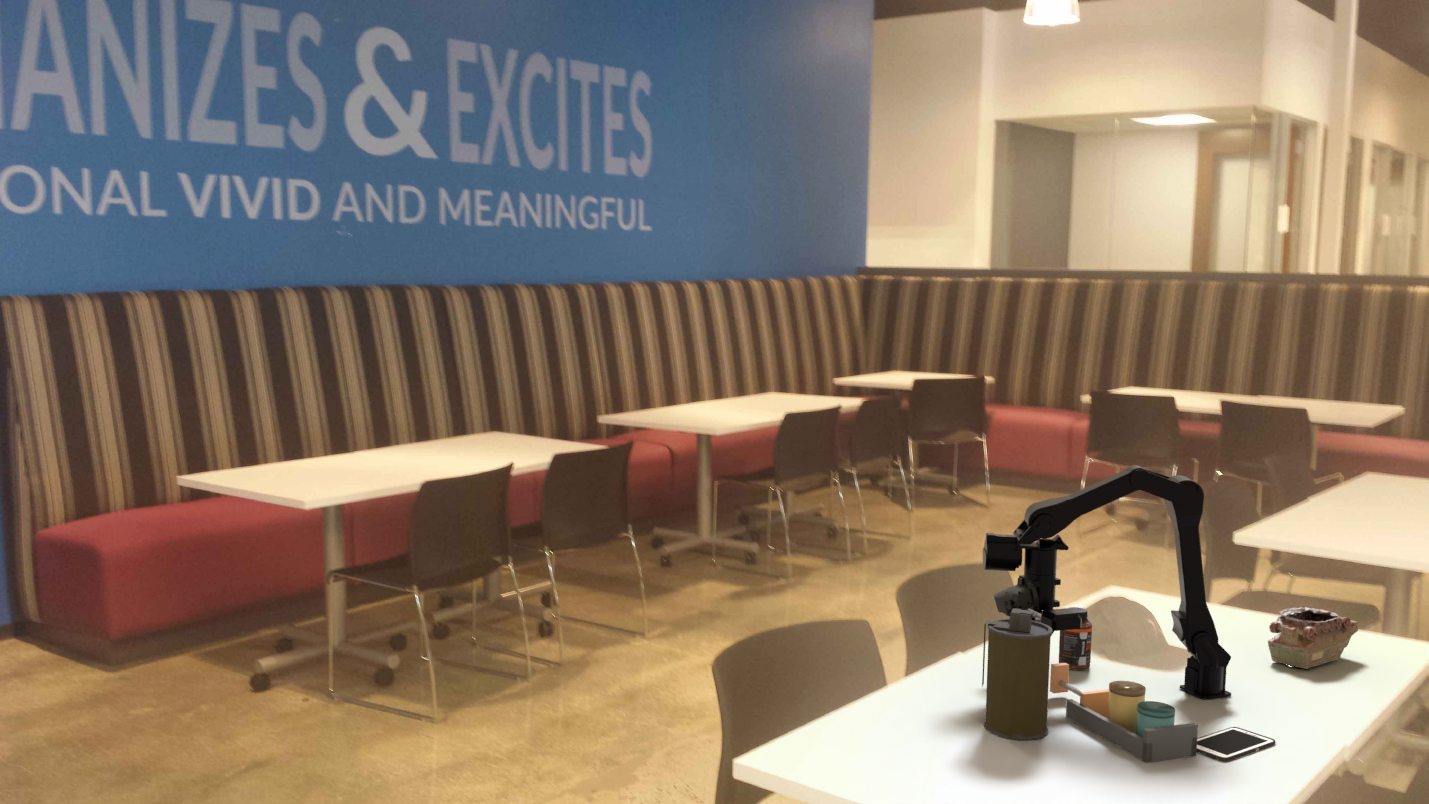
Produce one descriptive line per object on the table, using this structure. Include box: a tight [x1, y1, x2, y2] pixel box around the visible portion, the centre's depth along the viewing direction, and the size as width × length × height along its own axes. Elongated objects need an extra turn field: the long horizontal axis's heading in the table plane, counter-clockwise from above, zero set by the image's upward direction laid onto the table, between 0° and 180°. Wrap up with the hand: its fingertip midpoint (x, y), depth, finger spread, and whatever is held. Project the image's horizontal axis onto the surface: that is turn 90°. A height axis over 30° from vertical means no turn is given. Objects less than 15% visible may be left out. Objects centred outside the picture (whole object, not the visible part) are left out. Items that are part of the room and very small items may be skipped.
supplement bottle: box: [1058, 606, 1093, 671], centre depth 236 cm, size 6×6×11 cm
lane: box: [1065, 698, 1199, 763], centre depth 200 cm, size 10×21×5 cm, turn 19°
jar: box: [1136, 700, 1176, 738], centre depth 194 cm, size 6×6×7 cm
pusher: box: [1049, 662, 1109, 718], centre depth 213 cm, size 7×13×6 cm, turn 19°
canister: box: [981, 608, 1054, 741], centre depth 202 cm, size 11×10×20 cm
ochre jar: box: [1107, 680, 1147, 734], centre depth 201 cm, size 6×6×8 cm
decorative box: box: [1267, 606, 1359, 670], centre depth 244 cm, size 13×20×10 cm, turn 117°
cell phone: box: [1196, 726, 1276, 763], centre depth 197 cm, size 8×15×1 cm, turn 125°
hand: (1036, 654), depth 225 cm, fingers closed
